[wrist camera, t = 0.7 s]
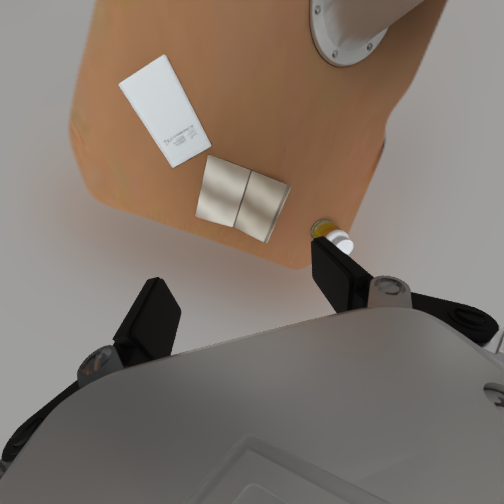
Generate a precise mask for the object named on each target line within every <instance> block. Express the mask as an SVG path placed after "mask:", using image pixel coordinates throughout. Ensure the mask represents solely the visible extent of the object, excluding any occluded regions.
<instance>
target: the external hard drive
mask: <svg viewBox="0 0 504 504" xmlns="http://www.w3.org/2000/svg"><path fill="white" fill-rule="evenodd" d="M119 86H120V88H121V89H122V91H123V93H124V94H125V96H126V97H127V99H128V100H129V102H130V103H131V105H132V106H133V108H134V109H135V111H136V113H137V114H138V116H139V117H140V119H141V120H142V122H143V123H144V125H145V126H146V128H147V129H148V131H149V133H150V134H151V136H152V137H153V139H154V140H155V142H156V143H157V145H158V146H159V148H160V149H161V151H162V153H163V154H164V156H165V157H166V159H167V160H168V162H169V163H170V165H171V166H172V168H174V167H176V166H177V165H179V164H181V163H183V162H185V161H186V160H188V159H190V158H192V157H193V156H195V155H197V154H199V153H201V152H202V151H204V150H206V149H208V148H209V147H211V146H212V145H211V143H210V141H209V139H208V137H207V135H206V133H205V131H204V129H203V127H202V125H201V123H200V121H199V119H198V117H197V115H196V114H195V112H194V110H193V108H192V106H191V104H190V102H189V100H188V98H187V96H186V94H185V92H184V90H183V88H182V86H181V84H180V82H179V80H178V78H177V76H176V74H175V72H174V70H173V68H172V66H171V64H170V62H169V60H168V58H167V57H166V55H162V56H160V57H159V58H157V59H156V60H154V61H153V62H151V63H150V64H148V65H147V66H145V67H144V68H142V69H141V70H139V71H137V72H136V73H134V74H133V75H131V76H130V77H128V78H127V79H125V80H124V81H122V82H121V83H119Z"/></svg>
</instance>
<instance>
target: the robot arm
mask: <svg viewBox="0 0 504 504" xmlns="http://www.w3.org/2000/svg"><path fill="white" fill-rule="evenodd" d="M422 1H424V0H310V27H311V33H312V37H313V40H314V43H315V46H316V48H317V50H318V51H319V53H320V55H321V56H322V57H323V58H324V59H325V60H326V61H327V62H329V63H330V64H332V65H335V66H337V67H347V66H352V65H354V64H356V63H358V62H360V61H361V60H363V59H364V58H366V57H367V56H368V55H369V54H370V53H372V52H373V50H374V49H375V48H376V47H377V46H378V44H379V43H380V42H381V40H382V38H383V37H384V35H385V34H386V32H387V30H388V27H389V26H390V25H391V24H393V23H394V22H395V21H397V20H398V19H399V18H401V17H402V16H404V15H405V14H406V13H408V12H409V11H410V10H412V9H413V8H414V7H416V6H417V5H418V4H420V3H421V2H422ZM315 12H316V14H315ZM332 55H333V57H332ZM311 255H312V276H313V279H314V281H315V282H316V284H317V285H318V287H319V288H320V289H321V291H322V292H323V294H324V295H325V297H326V298H327V300H328V301H329V302H330V304H331V305H332V307H333V308H334V310H335V311H336V313H337V314H332V315H328V316H324V317H320V318H315V319H311V320H307V321H303V322H299V323H295V324H291V325H287V326H284V327H279V328H276V329H272V330H268V331H263V332H260V333H256V334H252V335H248V336H244V337H240V338H236V339H232V340H229V341H225V342H221V343H217V344H213V345H209V346H206V347H202V348H198V349H194V350H190V351H186V352H183V353H179V354H175V355H171V351H172V347H173V343H174V340H175V336H176V332H177V328H178V324H179V320H180V316H181V309H180V307H179V305H178V304H177V302H176V300H175V298H174V297H173V295H172V293H171V292H170V290H169V288H168V287H167V285H166V283H165V281H164V280H163V279H160V278H159V277H156V278H152V279H148V280H147V281H146V283H145V285H144V286H143V288H142V290H141V291H140V293H139V295H138V297H137V298H136V300H135V302H134V303H133V305H132V307H131V309H130V310H129V312H128V314H127V315H126V317H125V319H124V320H123V322H122V324H121V326H120V327H119V329H118V331H117V332H116V334H115V336H114V337H113V340H114V341H115V342H114V344H113V346H112V345H107V346H103V347H101V348H99V349H97V350H96V351H94V352H93V353H92V354H90V355H89V356H88V357H87V358H86V359H85V360H84V361H83V363H82V364H81V365H80V367H79V369H78V371H77V379H78V380H77V381H75V382H74V383H73V384H71V385H70V386H69V387H68V388H66V389H65V390H64V391H63V392H61V393H60V394H59V395H58V396H56V397H55V398H54V399H53V400H51V401H50V402H49V403H48V404H46V405H45V406H44V407H43V408H42V409H40V410H39V411H38V412H37V413H35V414H34V415H33V416H31V417H30V418H29V419H28V420H27V421H26V422H24V423H23V424H22V425H21V426H20V427H19V428H18V429H17V430H16V432H15V433H14V434H13V435H12V437H11V438H10V439H9V441H8V442H7V444H6V446H5V448H4V450H3V453H2V459H1V460H0V504H504V328H503V327H501V326H499V325H498V324H497V322H496V321H495V320H494V319H493V318H492V317H491V316H490V315H488V314H486V313H485V312H483V311H481V310H479V309H477V308H475V307H471V306H468V305H464V304H460V303H456V302H452V301H447V300H443V299H439V298H434V297H430V296H426V295H422V294H417V293H413V292H411V290H410V288H409V286H408V285H407V284H406V283H405V282H404V281H402V280H400V279H398V278H395V277H391V276H378V277H375V278H374V277H373V276H371V275H370V274H369V273H368V272H367V271H365V270H364V269H363V268H362V267H361V266H360V265H358V264H357V263H356V262H355V261H354V260H352V259H351V258H350V257H349V256H348V255H347V254H345V253H344V252H342V251H341V250H340V249H339V248H338V247H337V246H335V245H334V244H333V243H332V242H331V241H330V240H328V239H327V238H326V237H325V236H320V237H316V238H314V240H313V241H311ZM170 355H171V356H170Z"/></svg>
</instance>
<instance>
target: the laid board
mask: <svg viewBox="0 0 504 504" xmlns="http://www.w3.org/2000/svg"><path fill="white" fill-rule="evenodd" d="M251 173H252V170H249V169H247V168H244V167H241V166H239V165H236V164H233V163H231V162H228V161H225V160H223V159H220V158H217V157H215V156H212V155H209V154H208V158H207V163H206V168H205V172H204V177H203V182H202V187H201V192H200V196H199V201H198V206H197V211H196V216H195V217H197V218H201V219H205V220H208V221H212V222H216V223H219V224H223V225H227V226H230V227H233V226H235V223H236V220H237V217H238V213H239V210H240V207H241V204H242V201H243V198H244V195H245V192H246V188H247V185H248V182H249V179H250V176H251Z"/></svg>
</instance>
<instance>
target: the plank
mask: <svg viewBox="0 0 504 504" xmlns="http://www.w3.org/2000/svg"><path fill="white" fill-rule="evenodd" d="M290 189H291V186H289V185H286V184H284V183H282V182H279V181H277V180H274V179H272V178H269V177H267V176H264V175H262V174H260V173H257V172H255V171H252V173H251V176H250V179H249V182H248V185H247V188H246V192H245V195H244V198H243V201H242V204H241V207H240V210H239V213H238V217H237V220H236V223H235V226H234V228H236V229H238V230H240V231H242V232H244V233H246V234H248V235H250V236H252V237H254V238H256V239H258V240H260V241H262V242H264V243H265V244H266V243H267V242H268V241H269V238H270V236H271V234H272V231H273V229H274V227H275V224H276V222H277V220H278V217H279V215H280V213H281V210H282V208H283V205H284V203H285V201H286V198H287V196H288V194H289V191H290Z"/></svg>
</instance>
